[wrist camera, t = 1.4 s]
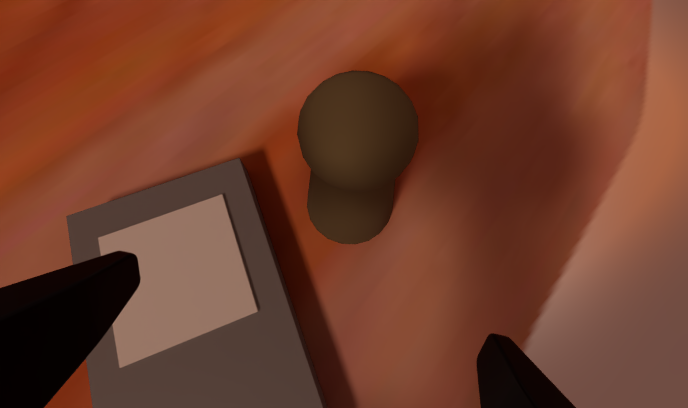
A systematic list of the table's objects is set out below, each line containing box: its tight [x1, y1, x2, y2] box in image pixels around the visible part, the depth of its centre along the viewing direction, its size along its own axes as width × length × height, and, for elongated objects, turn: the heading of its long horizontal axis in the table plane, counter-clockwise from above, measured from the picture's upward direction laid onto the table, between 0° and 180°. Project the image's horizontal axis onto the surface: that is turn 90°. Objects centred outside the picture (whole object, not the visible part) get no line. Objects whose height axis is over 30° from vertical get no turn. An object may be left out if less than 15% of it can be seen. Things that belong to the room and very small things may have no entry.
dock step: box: [66, 158, 327, 408], centre depth 19 cm, size 18×11×2 cm, turn 22°
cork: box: [297, 71, 418, 244], centre depth 18 cm, size 6×6×11 cm
